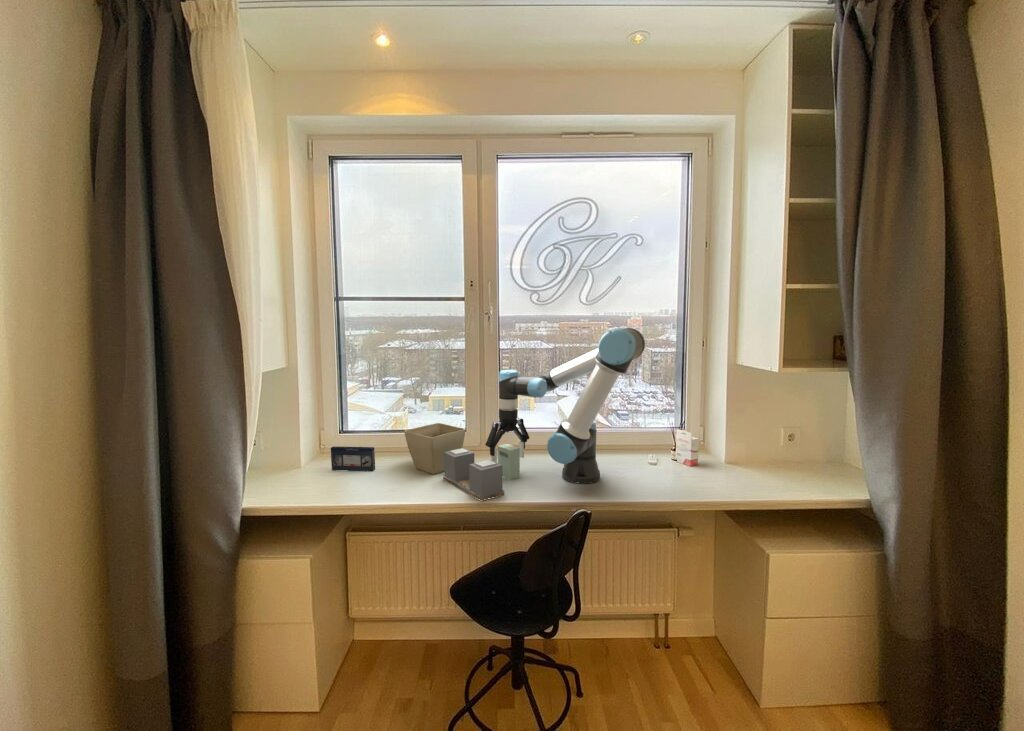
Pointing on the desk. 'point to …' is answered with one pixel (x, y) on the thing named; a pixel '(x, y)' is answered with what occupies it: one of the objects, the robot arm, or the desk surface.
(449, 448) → the flower pot
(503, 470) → the block
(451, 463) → the mounted modules
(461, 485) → the rail board
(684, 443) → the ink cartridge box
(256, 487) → the desk surface
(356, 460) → the vhs cassette tape
